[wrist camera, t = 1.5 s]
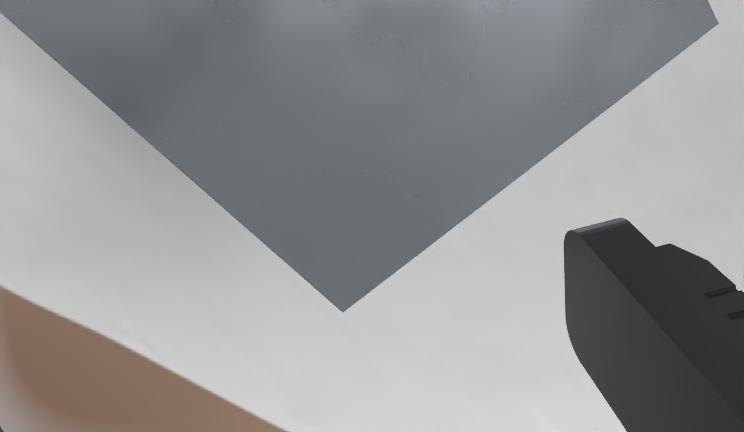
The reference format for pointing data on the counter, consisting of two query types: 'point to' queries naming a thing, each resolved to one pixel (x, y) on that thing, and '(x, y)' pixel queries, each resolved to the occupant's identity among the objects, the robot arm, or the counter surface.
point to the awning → (358, 104)
